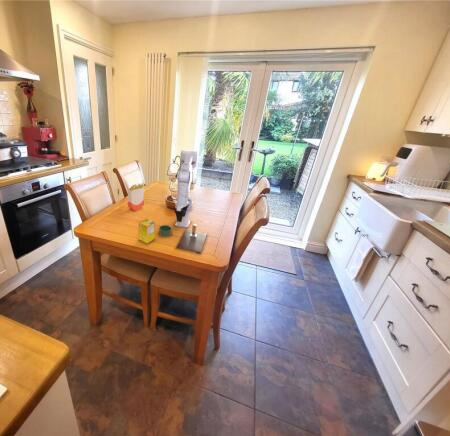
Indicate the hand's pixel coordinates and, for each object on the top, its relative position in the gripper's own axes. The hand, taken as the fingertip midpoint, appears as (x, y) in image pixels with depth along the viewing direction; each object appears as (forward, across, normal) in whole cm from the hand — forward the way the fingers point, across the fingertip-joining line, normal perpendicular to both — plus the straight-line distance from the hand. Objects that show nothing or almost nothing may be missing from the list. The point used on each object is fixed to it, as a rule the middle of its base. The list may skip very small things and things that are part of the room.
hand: (181, 218), depth 125 cm
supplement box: (+11, +11, -15) cm, 22 cm away
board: (+10, +3, +8) cm, 14 cm away
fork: (+10, +3, +8) cm, 13 cm away
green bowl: (+10, +1, -8) cm, 13 cm away
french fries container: (+10, -26, -38) cm, 47 cm away
